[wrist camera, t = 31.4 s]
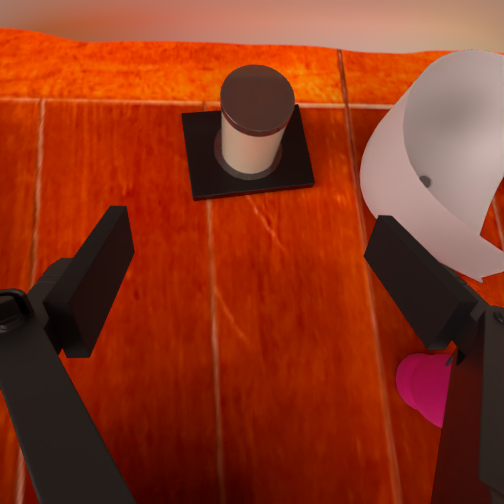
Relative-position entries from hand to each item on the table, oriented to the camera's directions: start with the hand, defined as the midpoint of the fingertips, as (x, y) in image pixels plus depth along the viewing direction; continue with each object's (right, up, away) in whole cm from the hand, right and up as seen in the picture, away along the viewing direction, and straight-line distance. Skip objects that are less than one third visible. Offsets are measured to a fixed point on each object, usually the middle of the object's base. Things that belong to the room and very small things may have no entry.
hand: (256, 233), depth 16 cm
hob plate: (-1, +12, +22) cm, 25 cm away
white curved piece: (+22, +7, +23) cm, 33 cm away
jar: (-1, +12, +20) cm, 24 cm away
